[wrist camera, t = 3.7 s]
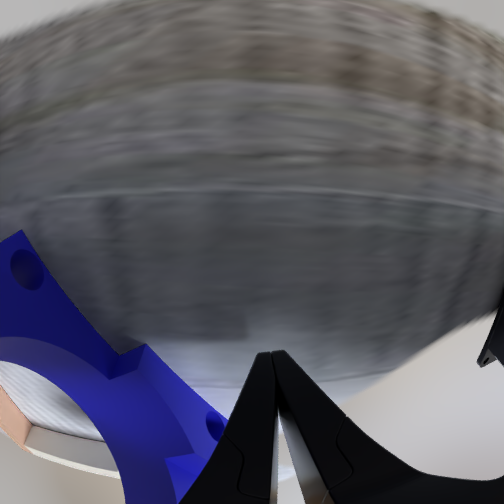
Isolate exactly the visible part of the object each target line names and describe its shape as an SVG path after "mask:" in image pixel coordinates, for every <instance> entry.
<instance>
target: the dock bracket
mask: <svg viewBox="0 0 504 504" xmlns="http://www.w3.org/2000/svg"><path fill="white" fill-rule="evenodd" d="M0 427H1V428H2V429H3V430H4V431H5V432H6V433H7V434H8V436H9V437H10V438H11V439H12V440H13V441H14V442H15V443H16V444H18V445H19V446H20V447H21V448H22V449H23V450H25V451H27V452H29V453H32V454H34V455H37V456H40V457H42V458H45V459H48V460H51V461H54V462H57V463H60V464H63V465H66V466H70V467H73V468H76V469H80V470H84V471H87V472H91V473H95V474H100V475H104V476H109V477H114V478H119V479H121V478H120V474H119V471H118V468H117V466H116V463H115V461H114V458H113V456H112V454H111V452H110V450H109V448H108V446H107V444H106V443H105V442H99V441H93V440H88V439H83V438H79V437H74V436H70V435H66V434H62V433H58V432H54V431H50V430H47V429H43V428H40V427H37V426H34V425H32V424H31V423H30V422H29V420H28V419H27V418H26V417H25V416H24V415H23V414H22V412H21V411H20V410H19V409H18V408H17V406H16V405H15V404H14V403H13V401H12V400H11V399H10V397H9V396H8V395H7V394H6V392H5V391H4V390H3V388H2V387H1V385H0Z"/></svg>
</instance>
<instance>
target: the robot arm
mask: <svg viewBox="0 0 504 504" xmlns="http://www.w3.org/2000/svg"><path fill="white" fill-rule="evenodd" d="M495 360H498V361H499V362H500V363H501V364H502V366H503V367H504V294H503V297H502V300H501V303H500V306H499V309H498V312H497V314H496V317H495V320H494V323H493V325H492V327H491V330H490V333H489V335H488V337H487V340H486V342H485V344H484V347H483V349H482V351H481V353H480V355H479V358H478V359H477V364H478V365H479V366H480V367H484V366H486V365H488V364H489V363H491V362H493V361H495ZM278 413H279V417H280V421H281V425H282V428H283V431H284V435H285V438H286V441H287V445H288V448H289V452H290V455H291V458H292V461H293V465H294V468H295V471H296V475H297V478H298V481H299V484H300V488H301V491H302V494H303V497H304V500H305V504H504V475H503V476H502V477H500V478H497V479H493V480H487V481H486V480H483V481H481V480H469V479H458V478H451V477H443V476H437V475H431V474H427V473H424V472H421V471H418V470H416V469H414V468H413V467H411V466H409V465H408V464H406V463H405V462H403V461H402V460H401V459H399V458H397V457H396V456H395V455H393V454H392V453H390V452H389V451H388V450H386V449H385V448H384V447H382V446H381V445H379V444H378V443H377V442H375V441H374V440H373V439H372V438H370V437H369V436H368V435H367V434H366V433H364V432H363V431H362V430H361V429H360V428H359V427H358V426H357V425H356V424H355V423H354V422H353V421H352V420H351V419H350V418H349V417H346V414H345V413H344V412H343V411H342V410H341V409H340V408H339V407H338V406H337V405H336V404H335V403H334V402H333V401H332V400H331V399H330V398H329V397H328V396H327V395H326V394H325V393H324V392H323V391H322V390H321V389H320V387H319V386H318V385H317V384H316V383H315V382H314V381H313V380H312V379H311V378H310V377H309V376H308V375H307V374H306V373H305V372H304V371H303V369H302V368H301V367H300V366H299V365H298V364H297V363H296V362H295V361H294V360H293V359H292V358H291V357H290V355H289V354H288V353H287V352H286V351H285V350H277V351H272V352H271V353H270V352H261V353H258V354H257V355H256V358H255V360H254V362H253V365H252V367H251V370H250V372H249V374H248V377H247V379H246V381H245V384H244V386H243V388H242V390H241V393H240V395H239V397H238V400H237V402H236V404H235V406H234V409H233V411H232V413H231V415H230V418H229V420H228V422H227V424H226V426H225V429H224V431H223V435H221V437H220V439H219V441H218V443H217V445H216V447H215V449H214V451H213V453H212V455H211V457H210V459H209V460H208V462H207V463H206V465H205V467H204V468H203V470H202V471H201V473H200V474H199V476H198V477H197V478H196V480H195V481H194V483H193V484H192V485H191V487H190V488H189V490H188V491H187V492H186V494H185V495H184V496H183V498H182V499H181V500H180V502H179V503H178V504H277V489H278Z"/></svg>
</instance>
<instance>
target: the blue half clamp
mask: <svg viewBox="0 0 504 504" xmlns="http://www.w3.org/2000/svg"><path fill="white" fill-rule="evenodd" d="M0 360H1V361H7V362H11V363H14V364H18V365H20V366H23V367H26V368H28V369H30V370H32V371H34V372H36V373H38V374H40V375H41V376H43V377H45V378H47V379H48V380H49V381H51V382H52V383H54V384H55V385H56V386H58V387H59V388H60V389H62V390H63V391H64V392H65V393H66V394H67V395H68V396H69V397H71V398H72V399H73V400H74V401H75V402H76V403H77V404H78V405H79V406H80V408H81V409H82V410H83V411H84V412H85V413H86V414H87V416H88V417H89V418H90V420H91V421H92V422H93V424H94V425H95V427H96V428H97V429H98V431H99V432H100V434H101V436H102V437H103V439H104V441H105V442H106V444H107V446H108V448H109V450H110V452H111V454H112V456H113V458H114V461H115V463H116V466H117V468H118V471H119V474H120V478H121V481H122V485H123V489H124V495H125V503H126V504H178V503H179V502H180V500H181V499H182V498H183V496H184V495H185V494H186V492H187V491H188V490H189V488H190V487H191V485H192V484H193V483H194V481H195V480H196V478H197V477H198V476H199V474H200V473H201V471H202V470H203V468H204V467H205V465H206V463H207V462H208V460H209V459H210V457H211V455H212V453H213V451H214V449H215V447H216V445H217V443H218V441H219V439H220V437H221V435H223V431H224V429H225V426H226V424H227V422H228V420H227V419H226V418H225V417H223V416H222V415H221V414H220V413H219V412H217V411H216V410H215V409H214V408H213V407H212V406H210V405H209V404H208V403H207V402H206V401H205V400H204V399H202V398H201V397H200V396H199V395H198V394H197V393H196V392H195V391H193V390H192V389H191V388H190V387H189V386H188V385H187V384H186V383H185V382H184V381H183V380H182V379H181V378H180V377H179V376H178V375H176V374H175V373H174V372H173V371H172V370H171V369H170V368H169V367H168V366H167V365H166V364H165V363H164V362H163V361H162V360H161V359H160V358H159V357H158V356H157V355H156V353H155V352H154V351H153V350H152V349H151V348H150V347H149V346H148V345H147V344H144V345H142V346H140V347H138V348H135V349H133V350H131V351H129V352H127V353H124V354H122V355H120V356H119V355H118V354H117V353H116V352H115V351H114V350H113V349H112V348H111V347H110V346H109V345H108V343H107V342H106V341H105V340H104V339H103V338H102V337H101V336H100V335H99V334H98V333H97V331H96V330H95V329H94V328H93V327H92V326H91V325H90V323H89V322H88V321H87V320H86V319H85V318H84V316H83V315H82V314H81V313H80V312H79V310H78V309H77V308H76V307H75V305H74V304H73V303H72V302H71V300H70V299H69V298H68V297H67V295H66V294H65V293H64V291H63V290H62V289H61V287H60V286H59V285H58V283H57V282H56V281H55V279H54V278H53V277H52V275H51V274H50V272H49V271H48V269H47V268H46V267H45V265H44V264H43V262H42V261H41V259H40V258H39V256H38V255H37V253H36V252H35V250H34V249H33V247H32V245H31V244H30V242H29V241H28V239H27V237H26V236H25V234H24V232H23V231H22V230H20V231H18V232H17V233H15V234H13V235H12V236H10V237H9V238H7V239H5V240H4V241H2V242H1V243H0Z"/></svg>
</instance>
